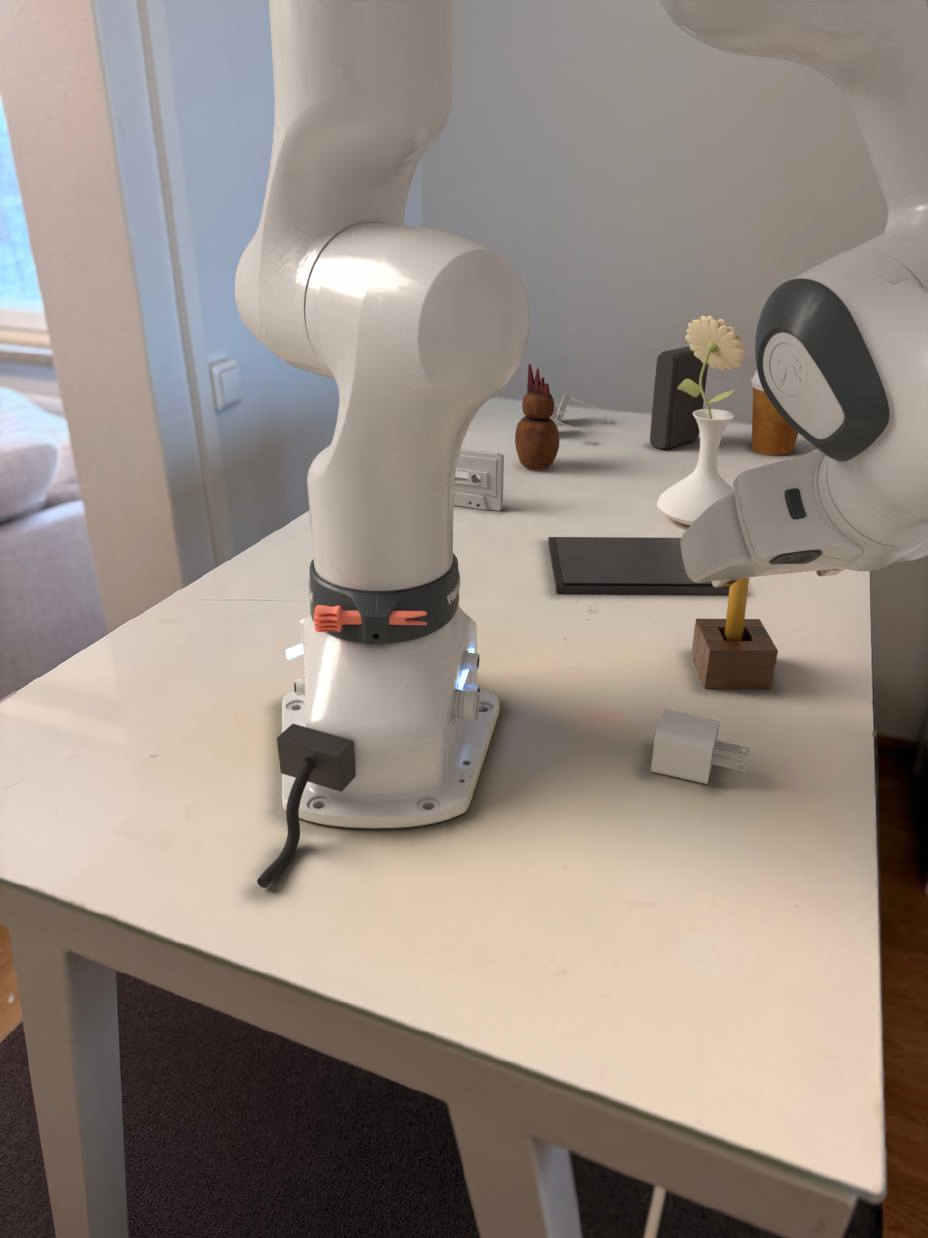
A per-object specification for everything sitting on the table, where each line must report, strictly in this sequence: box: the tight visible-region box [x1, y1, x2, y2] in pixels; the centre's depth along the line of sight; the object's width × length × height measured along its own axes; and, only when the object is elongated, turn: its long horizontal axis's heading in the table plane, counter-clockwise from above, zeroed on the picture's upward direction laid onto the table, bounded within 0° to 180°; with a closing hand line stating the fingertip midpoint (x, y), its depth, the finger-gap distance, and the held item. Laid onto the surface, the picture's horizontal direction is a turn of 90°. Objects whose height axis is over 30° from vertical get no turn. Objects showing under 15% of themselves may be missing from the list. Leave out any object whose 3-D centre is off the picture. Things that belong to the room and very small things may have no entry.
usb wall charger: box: [650, 708, 751, 785], centre depth 70 cm, size 4×7×4 cm, turn 68°
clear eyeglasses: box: [550, 392, 611, 444], centre depth 152 cm, size 14×8×5 cm, turn 160°
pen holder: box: [690, 618, 779, 690], centre depth 83 cm, size 6×6×4 cm
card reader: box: [649, 345, 709, 450], centre depth 143 cm, size 9×4×15 cm, turn 130°
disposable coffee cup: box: [750, 369, 799, 456], centre depth 141 cm, size 10×10×12 cm
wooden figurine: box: [514, 363, 561, 471], centre depth 133 cm, size 7×6×15 cm
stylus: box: [724, 577, 750, 641], centre depth 82 cm, size 2×2×15 cm
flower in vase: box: [656, 315, 746, 526], centre depth 113 cm, size 13×11×25 cm
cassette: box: [454, 448, 505, 512], centre depth 121 cm, size 12×2×8 cm, turn 68°
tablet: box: [547, 536, 730, 596], centre depth 104 cm, size 14×20×1 cm
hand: (771, 572), depth 75 cm, fingers open, 8 cm apart
